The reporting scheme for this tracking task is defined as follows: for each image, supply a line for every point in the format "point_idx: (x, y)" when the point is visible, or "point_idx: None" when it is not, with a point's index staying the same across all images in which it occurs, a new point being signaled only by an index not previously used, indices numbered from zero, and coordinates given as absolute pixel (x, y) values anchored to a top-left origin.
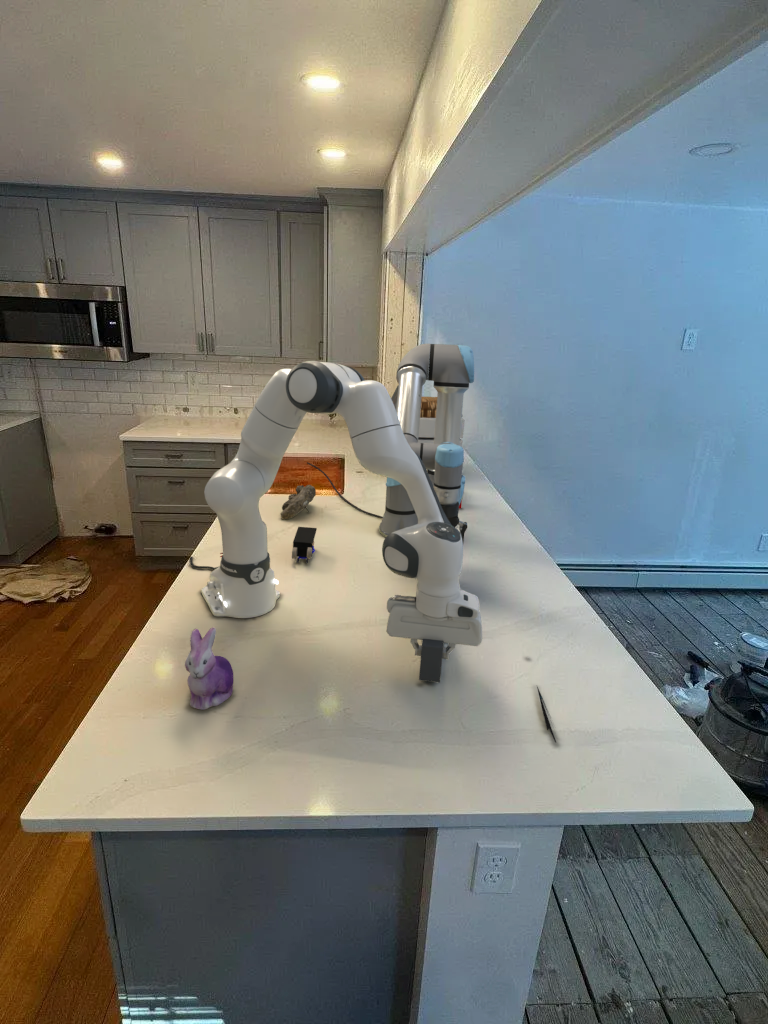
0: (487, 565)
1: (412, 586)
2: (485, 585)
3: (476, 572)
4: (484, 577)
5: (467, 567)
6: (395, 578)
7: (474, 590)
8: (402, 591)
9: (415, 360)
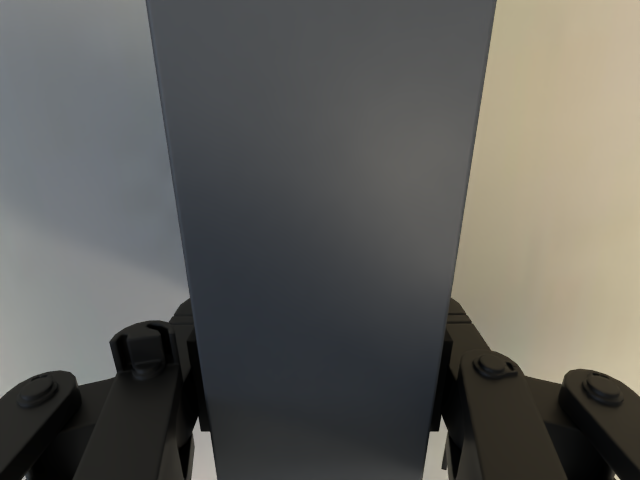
0: None
1: (502, 143)
2: (21, 260)
3: None
4: (55, 354)
5: None
6: (606, 236)
7: (71, 175)
8: (590, 40)
9: None
